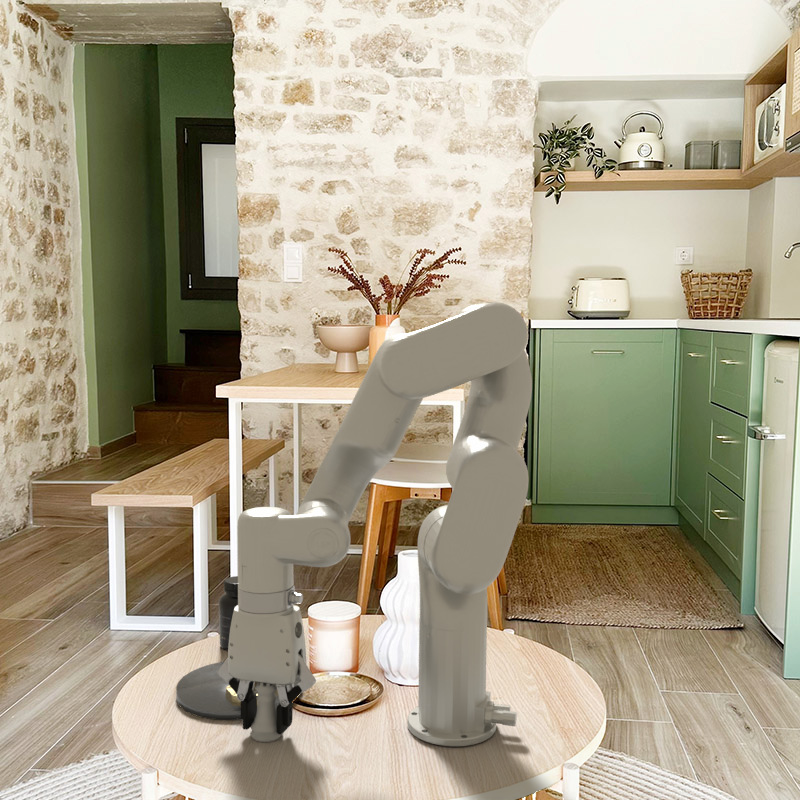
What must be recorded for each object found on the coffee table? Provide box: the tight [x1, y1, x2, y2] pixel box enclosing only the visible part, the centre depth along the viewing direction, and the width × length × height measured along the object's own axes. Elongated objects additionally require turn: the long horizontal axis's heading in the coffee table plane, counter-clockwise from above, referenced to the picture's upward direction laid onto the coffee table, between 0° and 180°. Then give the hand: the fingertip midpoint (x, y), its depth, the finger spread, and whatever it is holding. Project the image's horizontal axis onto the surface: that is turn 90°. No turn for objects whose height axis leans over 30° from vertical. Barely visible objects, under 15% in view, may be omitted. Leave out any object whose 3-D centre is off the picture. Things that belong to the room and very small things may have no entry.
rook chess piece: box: [250, 682, 282, 743], centre depth 119 cm, size 4×4×8 cm
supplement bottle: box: [218, 575, 238, 651], centre depth 153 cm, size 7×7×12 cm
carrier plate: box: [175, 660, 301, 721], centre depth 134 cm, size 19×19×3 cm
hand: (266, 726), depth 119 cm, fingers closed on rook chess piece, 4 cm apart
